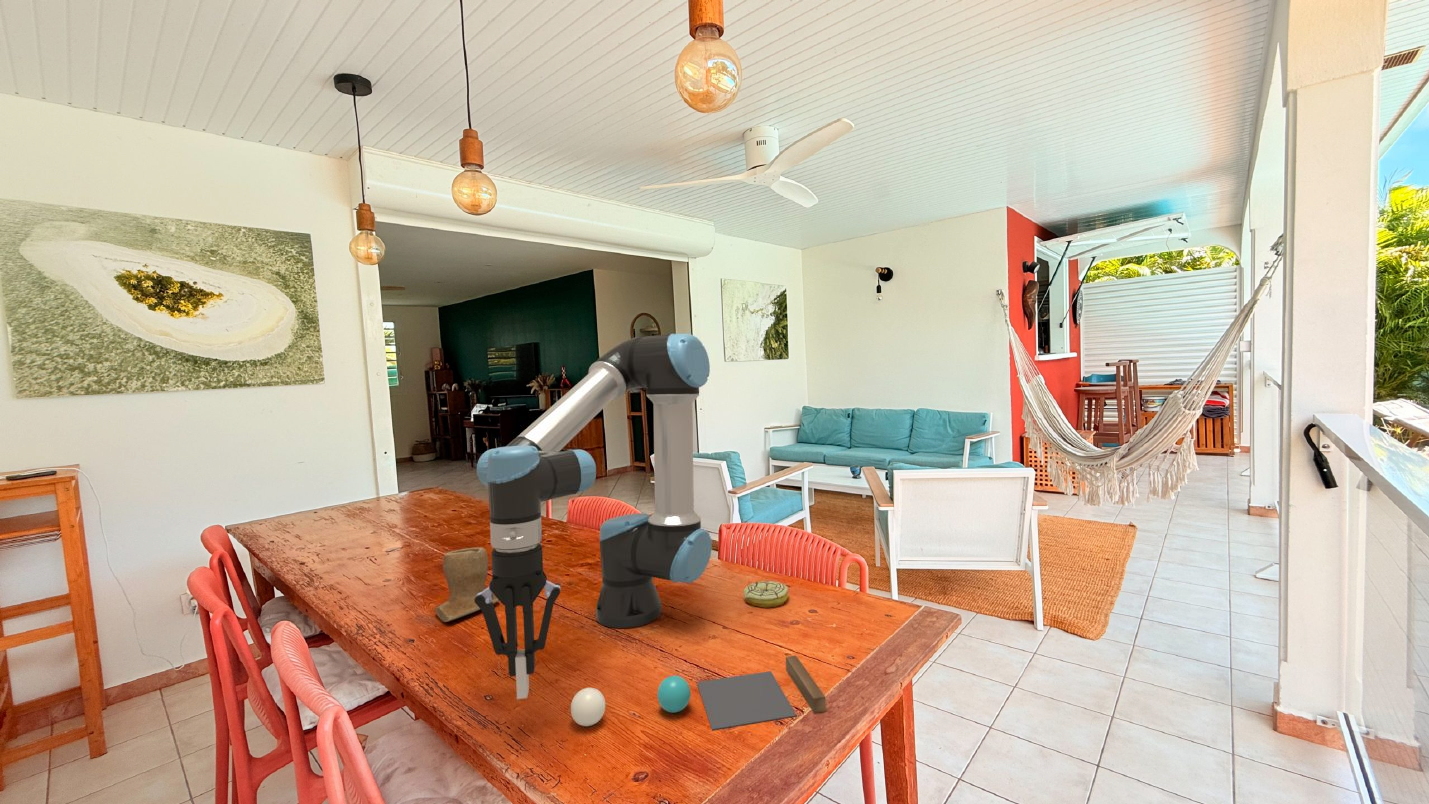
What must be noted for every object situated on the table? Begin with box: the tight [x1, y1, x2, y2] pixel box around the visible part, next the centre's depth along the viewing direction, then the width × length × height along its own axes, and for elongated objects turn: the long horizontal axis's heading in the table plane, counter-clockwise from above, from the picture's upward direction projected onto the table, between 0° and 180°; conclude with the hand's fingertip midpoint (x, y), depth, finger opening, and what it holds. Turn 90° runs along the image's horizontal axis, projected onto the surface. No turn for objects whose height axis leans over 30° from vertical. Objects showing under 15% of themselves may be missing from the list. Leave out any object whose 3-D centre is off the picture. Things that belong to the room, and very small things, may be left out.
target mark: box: [696, 670, 798, 731], centre depth 97 cm, size 14×14×1 cm
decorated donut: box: [743, 580, 789, 609], centre depth 138 cm, size 10×11×4 cm
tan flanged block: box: [434, 547, 500, 623], centre depth 138 cm, size 15×12×15 cm
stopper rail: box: [785, 654, 827, 714], centre depth 99 cm, size 2×14×2 cm, turn 12°
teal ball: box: [657, 675, 691, 713], centre depth 95 cm, size 6×6×6 cm
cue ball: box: [570, 687, 606, 727], centre depth 92 cm, size 6×6×6 cm
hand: (523, 693), depth 89 cm, fingers closed
